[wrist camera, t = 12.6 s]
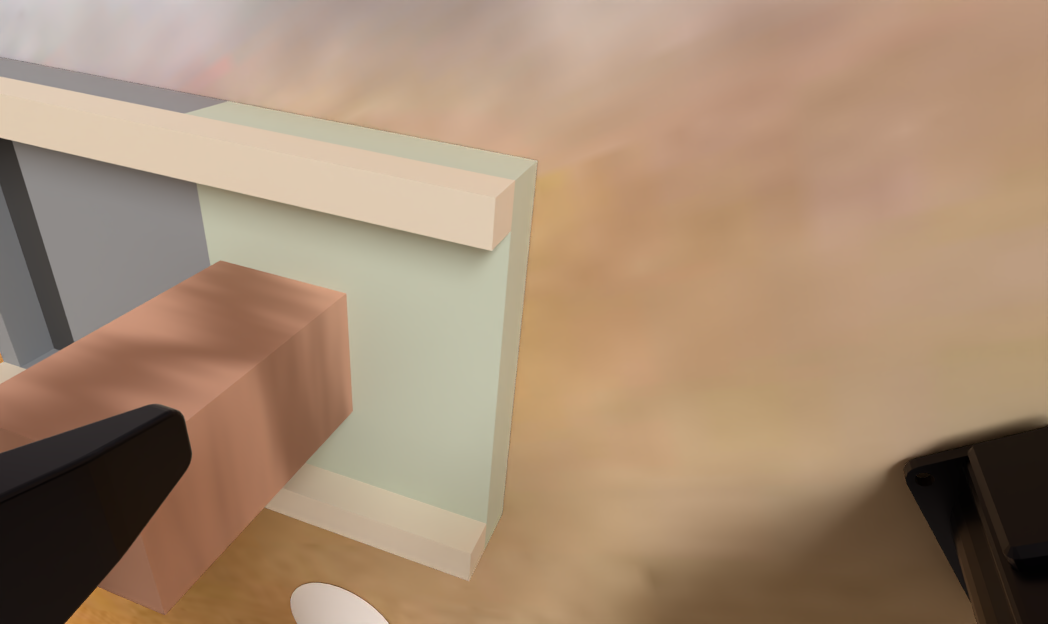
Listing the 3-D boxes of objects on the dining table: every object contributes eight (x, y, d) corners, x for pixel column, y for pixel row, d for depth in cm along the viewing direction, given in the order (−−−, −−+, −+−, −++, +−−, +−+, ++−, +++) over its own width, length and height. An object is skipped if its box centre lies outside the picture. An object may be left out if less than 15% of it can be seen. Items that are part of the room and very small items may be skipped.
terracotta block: (346, 293, 22) (122, 472, 15) (352, 411, 25) (164, 615, 17) (220, 260, 23) (-47, 410, 16) (239, 375, 26) (16, 552, 18)
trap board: (537, 160, 20) (495, 197, 17) (502, 514, 27) (469, 581, 25) (-56, 46, 25) (-163, 59, 23) (52, 365, 33) (-18, 405, 30)
